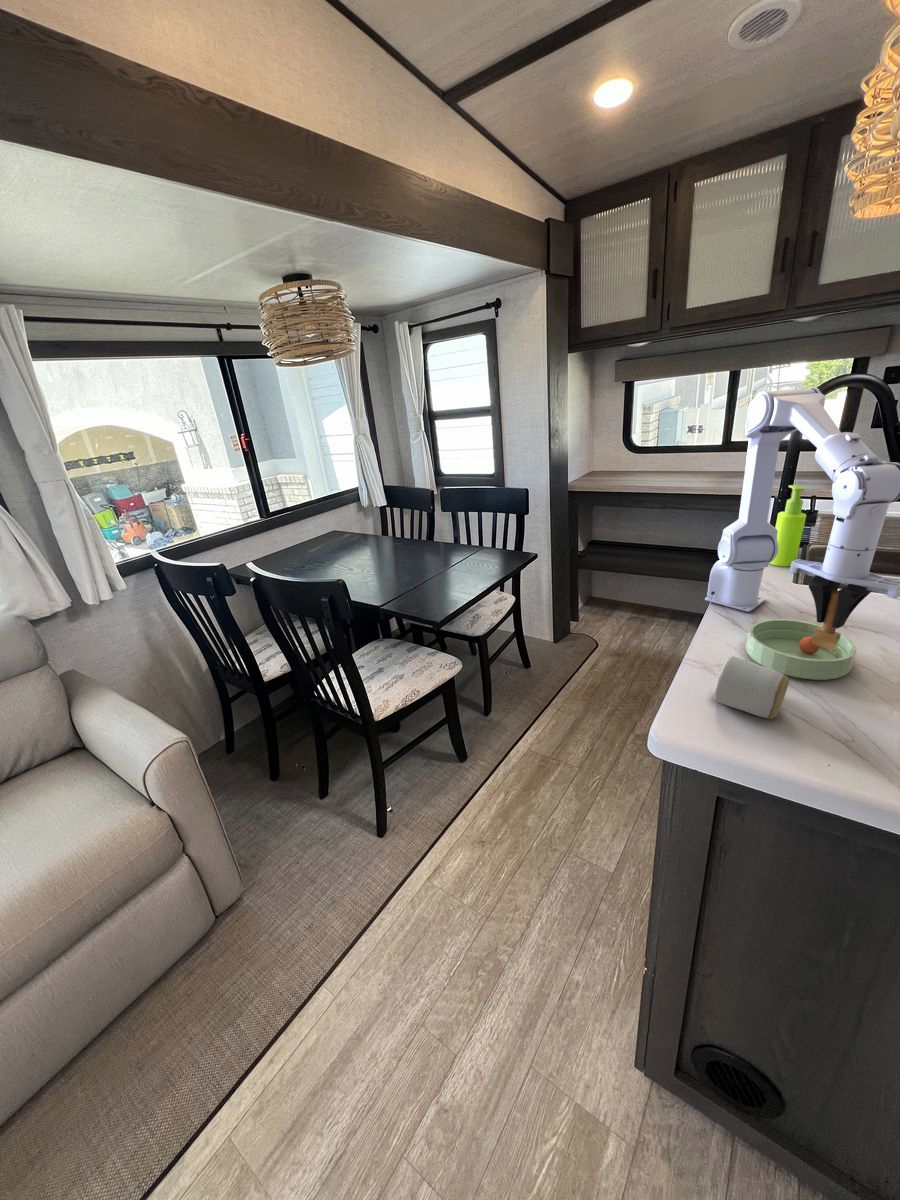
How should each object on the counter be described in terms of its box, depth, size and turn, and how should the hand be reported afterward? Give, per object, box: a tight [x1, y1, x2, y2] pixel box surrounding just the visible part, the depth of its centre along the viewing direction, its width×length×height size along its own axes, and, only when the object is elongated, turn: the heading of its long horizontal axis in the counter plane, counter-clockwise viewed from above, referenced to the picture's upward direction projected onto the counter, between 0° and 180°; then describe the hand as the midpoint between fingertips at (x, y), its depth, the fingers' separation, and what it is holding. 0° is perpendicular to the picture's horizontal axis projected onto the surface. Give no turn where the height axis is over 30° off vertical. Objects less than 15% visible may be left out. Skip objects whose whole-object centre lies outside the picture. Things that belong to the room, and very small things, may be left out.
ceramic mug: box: [713, 655, 790, 720], centre depth 71 cm, size 11×8×8 cm
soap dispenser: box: [768, 484, 807, 567], centre depth 120 cm, size 6×7×20 cm
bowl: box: [745, 618, 857, 681], centre depth 82 cm, size 15×15×4 cm
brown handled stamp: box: [812, 590, 842, 651], centre depth 77 cm, size 3×2×10 cm, turn 28°
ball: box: [799, 637, 820, 654], centre depth 83 cm, size 3×3×3 cm
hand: (830, 623), depth 77 cm, fingers closed on brown handled stamp, 2 cm apart
